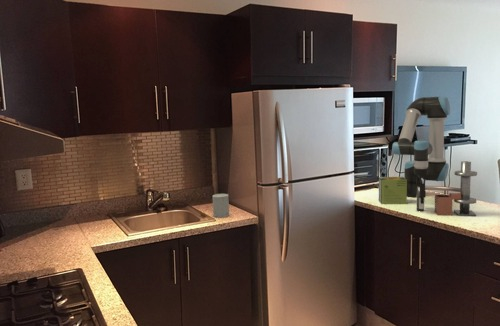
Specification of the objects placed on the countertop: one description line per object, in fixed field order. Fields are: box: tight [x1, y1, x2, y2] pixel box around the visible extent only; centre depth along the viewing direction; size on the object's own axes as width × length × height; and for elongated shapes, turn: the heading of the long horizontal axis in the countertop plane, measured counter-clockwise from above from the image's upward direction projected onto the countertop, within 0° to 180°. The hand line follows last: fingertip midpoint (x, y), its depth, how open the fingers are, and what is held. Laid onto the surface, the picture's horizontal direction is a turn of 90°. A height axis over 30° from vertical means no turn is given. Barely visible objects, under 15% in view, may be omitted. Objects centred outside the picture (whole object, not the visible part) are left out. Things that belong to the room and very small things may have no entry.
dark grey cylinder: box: [416, 186, 425, 213], centre depth 244 cm, size 4×4×14 cm
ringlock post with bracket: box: [434, 160, 478, 217], centre depth 234 cm, size 11×20×29 cm, turn 78°
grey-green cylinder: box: [212, 193, 230, 219], centre depth 251 cm, size 10×10×12 cm
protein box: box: [378, 176, 408, 205], centre depth 267 cm, size 10×15×16 cm
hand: (420, 206), depth 245 cm, fingers open, 8 cm apart
